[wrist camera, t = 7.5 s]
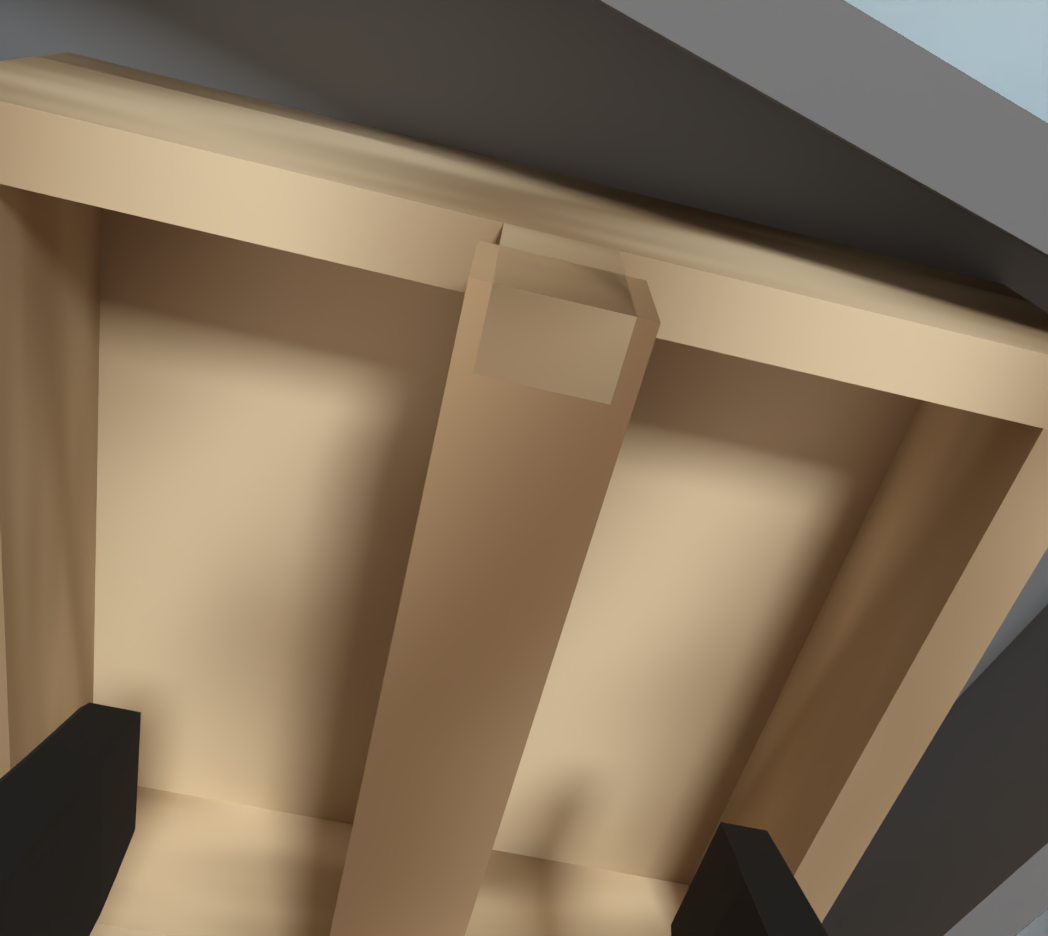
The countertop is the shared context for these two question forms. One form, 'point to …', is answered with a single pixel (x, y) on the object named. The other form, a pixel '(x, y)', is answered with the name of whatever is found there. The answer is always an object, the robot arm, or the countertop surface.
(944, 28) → the countertop surface
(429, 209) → the pine crate
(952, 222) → the charcoal crate
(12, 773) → the robot arm
